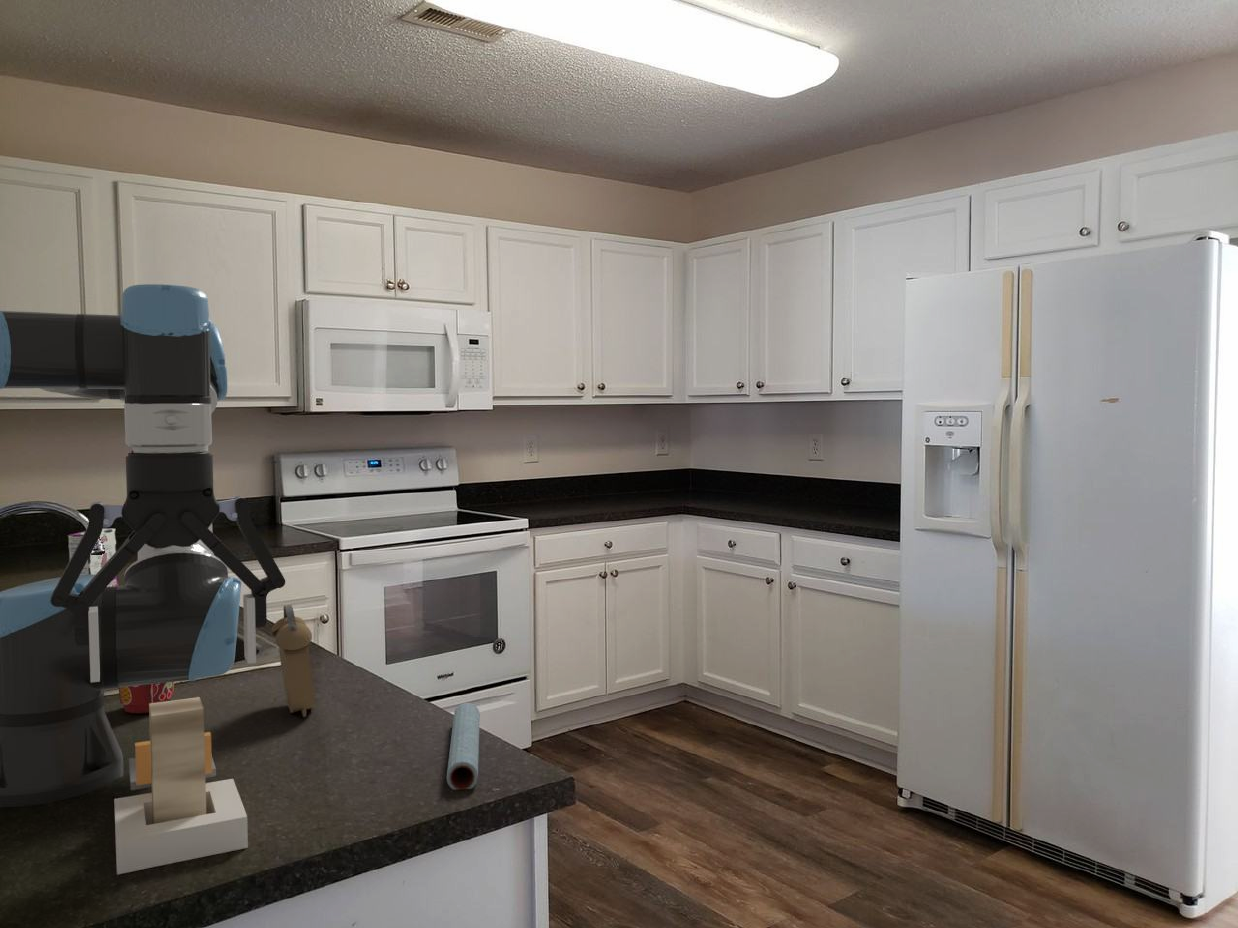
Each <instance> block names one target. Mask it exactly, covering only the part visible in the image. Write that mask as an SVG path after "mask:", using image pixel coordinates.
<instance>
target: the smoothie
mask: <svg viewBox="0 0 1238 928" xmlns="http://www.w3.org/2000/svg"><path fill="white" fill-rule="evenodd" d="M174 686H175V682H167V683H157V684H147V685H137V686H128V687H119V688H118V696H119V697H118V698H119V703H120V704H122V705H123V709H124V712H127V713H130V714H147V713H149V704H150V703H157V702H165V701H171V698H173V696H174V689H175V687H174Z"/></svg>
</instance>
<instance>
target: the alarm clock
mask: <svg viewBox="0 0 1238 928" xmlns="http://www.w3.org/2000/svg"><path fill="white" fill-rule="evenodd" d="M271 634H272V636H274V637H275V643H276V645H277V646H278V649H279V652H278V653H279V658H280V659H279V660H280V668H281V675H282V681H283V686H284V693H285V697H286V702H287V706H288V710H289V711H290V714H293V713H296V712H301V715H302V717H303V718H306V717H307V710H309V709H314V708H315V705H316V697H315V695H316V694H315V686H314V683H315V682H314V676H313V669H312V668H313V667H312V662H311V657H310V652H309V646H308V645H309V644H310V643H311V642H312V640H313V633H312V630H311V629H310V628H309V626H307V624H306V621H305V620H304V619H303V618H301V617H298V616H295V612H294V608H293V606H292V604H287V605H286V604H285V605H283V618H281V619H279V620H277V621H276V622H275V623H274V624H273V626H272V628H271Z"/></svg>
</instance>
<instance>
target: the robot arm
mask: <svg viewBox="0 0 1238 928" xmlns="http://www.w3.org/2000/svg"><path fill="white" fill-rule="evenodd" d="M3 389H40V390H42V391H45V392H49V393H57V394H58V393H59V394H64V395H69V396H74V397H78V398H80V397H81V398H84V399H85V398H86V399H95V400H124V404H123V406H124V408H123V409H124V410H123V411H124V415H123V416H124V436H125V437H124V439H125V440H124V441H125V445H126V446H127V447H129V448H131V447H132V450H131V452H129V453H128V454H127V455H126V456H125V479H126V480H125V482H126V484H125V485H126V498H125V501H124V504H123V505H119V504H118V505H117V504H104V503H102V502H100V501H95V502H92V503H91V505H90V506H89V515H88V526H87V527H86V529H85V531H84V532H85V533H84V535H83V536H82V538H81V540H80V542H79V544H78V546H77V548H76V550H75V552H74V553H73V555H72V557H71V559H70V561H68V563H67V565H66V567H65V568H64V571H63V573H62V575H61V576H60V577H54V578H48V579H44V580H37V581H35V582H30V583H25V584H20V585H17V586H14V587H10V588H6V589H4V590H2V591H0V808H19V807H20V808H21V807H30V806H39V805H45V804H49V803H55V802H58V801H65V800H67V799H71V798H75V797H79V796H81V795H85V794H88V793H91V792H94V791H96V790H99V789H100V788H103V787H105V786H107V785H109V784H110V783H112V782H114V781H115V780H116V779H118V778H123V776H124V756H123V752H122V749H121V747H120V745H119V743H118V741H117V738H116V736H115V733H114V730H113V728H112V726H111V723H110V720H109V719H108V716H107V714H106V710H105V690H107V689H109V690H110V689H116V688H118V689H119V687H128V686H137V685H147V684H157V683H167V682H174V683H175V682H184V681H189V682H195V681H196V680H198V679H204V678H211V677H218V676H222V675H225V674H226V673H228V672H229V671H230V670H231V669H232V668H233V666H234V664H235V658H236V647H237V646H236V645H237V639H238V637H237V635H238V626H239V615H240V614H239V613H240V605H241V604H240V603H241V602H240V601H241V590H242V583H243V584H244V585H246V587H247V588H248V589H249V590H250V593H249V592H248V593H243V594H242V599H243V600H242V601H243V604H242V605H243V607H242V608H243V645H244V646H243V647H244V648H243V650H244V653H243V654H244V659H245V661H246V662H247V664H249V665H251V664H256V663H257V639H256V638H257V635H256V629H257V628H263V627H264V628H265V627H266V625H267V622H268V621H267V620H268V618H267V614H268V613H267V596H268V594H269V593H270V592H273V591H274V590H276V589H281V588H283V587H284V586H285V585H286V579H285V577H284V575H283V573H282V572H281V570H280V568H279V566H278V565H277V563H276V561H275V559H274V558H273V556H272V554H271V552H270V550H269V549H268V547H267V545H266V543H265V542H264V541H263V538H262V536H261V534H260V533H259V532H258V529H257V528H256V526H255V524H254V522H253V521H252V517H251V510H250V503H249V500H247V499H246V498H245V497H243V496H242V495H241V496H240V495H237V496H235V497H234V498H233V499H226V500H217V499H216V497H215V493H214V466H213V465H214V463H213V462H214V460H213V459H214V458H213V457H214V456H213V454H211V451H209V446H211V445H212V443H213V429H212V427H213V425H212V414H213V412H214V411H215V409H216V408H217V406H218V401H222V400H224V399H226V397H227V394H228V370H227V365H226V355H225V350H224V345H223V340H222V336H221V333H220V332H219V329H218V327H217V326H216V325H215V324H214V323H213V322H212V321H211V318H210V314H209V299H208V296H207V294H206V293H205V292H204V291H203V290H201V289H200V288H199V289H198V288H196V287H192V286H184V285H178V284H177V285H176V284H175V285H174V284H156V283H151V284H149V283H146V284H145V283H144V284H133V285H130V286H128V287H127V288H125V289H124V290H123V291H122V294H121V314H120V315H119V314H118V315H116V314H94V313H93V314H91V313H90V314H89V313H88V314H87V313H86V314H85V313H77V314H76V313H59V312H57V313H56V312H55V313H54V312H35V311H14V310H13V311H10V310H9V311H8V310H0V390H3ZM220 513H224V514H225V515H226V518H227V519H228V520H230V521H232V522H236V524H237V527H238V529H239V530H240V532H241V534H242V536H243V538H244V539H245V542H247V544H248V546H249V548H250V550H251V551H252V553H253V555H254V557H255V558H256V560H257V561H258V563H259V565H260V567H261V569H262V570H263V572H264V574H265V577H263V578H260V579H259V578H258V577H257V576H256V575H255V574H254V573H253V572H252V571H251V570H250V569H249V568H248V566H246V565H245V564H244V563H243V562H242V561H241V560H240V558H238V557H237V556H236V555H235V554H234V553H233V552H232V551H231V550H230V549H229V548H228V547H227V546H226V545H225V544H224V543H223V542H222V541H221V540H220V539H219V538H218V537H217V536H216V535H215V534H214V533H213V522H214V521H215V519H216V518H217V516H219V514H220ZM117 518H118V519H119V518H122V519H123V520H124V521H125V523H126V524H127V525H128V526H129V527H130V529H132V532H131V533H130V534H129V536H128V537H127V538H126V539H125V540H124V542H123V543H122V544H121V546H119V548H117V549H116V552H115V553H114V555H113V556H112V557H111V558H110V559H109V560H108V561H107V563H106V564H105V565H104V566H103V567H102V568H101V569H100V571H99V572H98V573H97V574H96V575H93V574H87V575H80V574H81V572H82V570H83V568H84V566H85V564H86V562H87V560H88V558H89V556H90V554H91V553H92V551H93V549H94V547H95V545H96V543H97V541H98V539H99V537H100V535H101V532H102V529H107V528H110V527H111V526H112V525H113V524H114V521H115V520H116V519H117ZM135 555H137V560H136V561H134V562H133V563H132V564H130V565H129V567H127V568H126V570H125V572H124V573H123V575H124V576H123V585H118V586H116V587H107V586H108V585H109V584H110V582H111V581H112V580H113V579H114V578H115V577H116V576H118V575H119V573H120V572H121V571H122V570H123V569H124V568H125V567H126V565H127V564H128V563H130V561H131V560H132V559H133V557H135ZM228 569H229V570H230V571H231V572H232V573H233V574H234V575H235V576H236V577H234V576H230V577H229V570H228ZM79 575H80V576H79Z"/></svg>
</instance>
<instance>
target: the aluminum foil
mask: <svg viewBox="0 0 1238 928" xmlns="http://www.w3.org/2000/svg"><path fill="white" fill-rule="evenodd" d="M480 715H481V714H480V710H479V708H478V706H476V704H473V703H470V702H464V703H461V704H459V705H458V706H457V707H456V708H455V710H454V713H453V719H452V727H451V728H452V729H451V736H450V737H451V738H450V743H449V744H450V746H449V752H448V753H449V754H448V755H449V756H448V762H447V769H446V770H447V771H446V783H447V785H448V786H449V787H450V788H451V790H455V791H456V790H470V789H471V790H472V789H474V787H475V786H476V784H477V781H478V777H479V747H480V723H481V722H480ZM492 791H494V792H495V791H500V788H492Z"/></svg>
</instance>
